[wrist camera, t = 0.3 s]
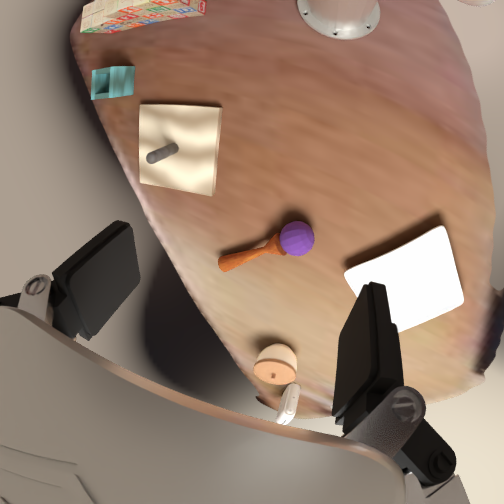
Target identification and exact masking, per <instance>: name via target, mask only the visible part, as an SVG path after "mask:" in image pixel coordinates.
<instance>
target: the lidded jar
mask: <svg viewBox="0 0 504 504" xmlns="http://www.w3.org/2000/svg"><path fill="white" fill-rule="evenodd" d="M253 370H254V373H255V375H256V376H257V377H258V378H260V379H261V380H263V381H265V382H268V383H271V384H278V385H282V384H288V383H291V382H292V381H293V380H294V379H295V377H296V370H297V359H296V356H295V354H294V353H293V351H292V350H291V349H290V348H289V347H288V346H287V345H284V344H280V343H276V344H272V345H271V346H268V347H266V348H265V349H264V350H263V351H262V352H261V353H260V354H259V356H258V358H257V361H256V363H255V365H254V368H253Z"/></svg>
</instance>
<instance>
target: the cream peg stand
mask: <svg viewBox="0 0 504 504" xmlns="http://www.w3.org/2000/svg"><path fill="white" fill-rule="evenodd" d="M222 109H223V108H221V107H210V106H197V105H177V104H142V105H140V115H139V169H140V183H145V184H150V185H156V186H161V187H167V188H172V189H177V190H183V191H188V192H193V193H198V194H203V195H208V196H213V195H214V194H215V185H216V172H217V160H218V149H219V138H220V128H221V118H222Z"/></svg>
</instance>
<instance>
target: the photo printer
mask: <svg viewBox="0 0 504 504" xmlns="http://www.w3.org/2000/svg"><path fill="white" fill-rule="evenodd" d="M300 388H301V386H299V385H298V384H295V383H291V384H289V385H288V387H287V388H286V389H285V391H284V393H283V395H282V398H281V402H280V406H279V410H278V414H277V418H276V421H277V423H278V424H282V425H286V424H287V423H289V422H290V421H291V420H292V418H293V417H294V415H295V412H296V408H297V403H298V398H299V393H300Z"/></svg>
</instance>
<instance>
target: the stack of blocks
mask: <svg viewBox="0 0 504 504" xmlns="http://www.w3.org/2000/svg"><path fill="white" fill-rule="evenodd" d="M205 9H206V0H95V1H94V2H92V3H89V4H87V5H85V6H84V8H83V14H82V23H81V31H80V32H81V33H92V32H94V33H111V34H112V33H115V32H118V31H122V30H127V29H130V28H133V27H138V26H142V25H146V24H150V23H154V22H159V21H164V20H169V19H178V18H184V17H193V16H202V15H205Z"/></svg>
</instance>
